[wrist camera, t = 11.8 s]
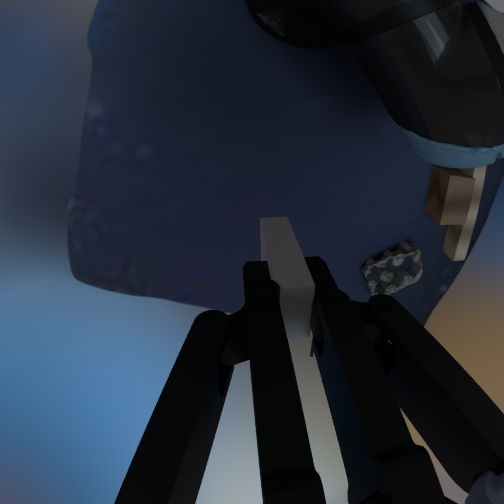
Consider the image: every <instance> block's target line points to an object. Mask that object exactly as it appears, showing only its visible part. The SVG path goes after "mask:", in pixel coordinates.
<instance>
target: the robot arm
mask: <svg viewBox="0 0 504 504" xmlns="http://www.w3.org/2000/svg"><path fill="white" fill-rule="evenodd" d="M246 1H247V5H248V8H249V11H250V13H251V15H252V16H253V18H254V20H255V21H256V22H257V23H258V25H259V26H260V27H261V28H262V29H263V30H265V31H266V32H267V33H268V34H270V35H271V36H273V37H274V38H276V39H278V40H280V41H282V42H285V43H287V44H290V45H294V46H298V47H304V48H320V47H326V46H330V45H333V44H335V43H338V42H340V41H342V40H344V42H345V43H346V45H347V46H348V48H349V49H350V51H351V52H352V54H353V55H354V57H355V58H356V60H357V61H358V63H359V64H360V66H361V67H362V69H363V70H364V72H365V74H366V75H367V77H368V78H369V80H370V82H371V83H372V85H373V87H374V88H375V90H376V92H377V94H378V95H379V97H380V99H381V100H382V102H383V104H384V106H385V108H386V109H387V112H388V116H389V118H390V120H391V122H392V123H393V124H394V125H395V126H396V127H397V128H398V130H399V131H400V133H401V135H402V137H403V139H404V140H405V142H406V144H407V146H408V147H409V148H410V149H411V150H412V151H413V152H414V153H415V154H417V155H419V156H420V157H421V158H422V159H424V160H425V161H427V162H430V163H432V164H435V165H438V166H442V167H448V168H459V169H466V168H477V167H482V166H486V165H489V164H492V163H494V162H495V159H496V157H497V158H503V157H504V13H500V12H498V11H497V10H495V9H493V8H491V7H489V6H488V5H486V4H484V3H482V2H480V1H477V2H472V3H468V4H465V5H461V4H460V3H459V2H458V0H246ZM260 230H261V261H253V262H246V264H245V265H244V267H243V282H244V296H245V304H244V306H243V307H242V309H241V310H239V311H238V312H236V313H233V314H230V315H227V314H225V313H224V312H222V311H219V310H208V311H204V312H202V313H200V314H199V315H198V316H197V317H196V318H195V320H194V322H193V324H192V326H191V329H190V331H189V333H188V335H187V337H186V339H185V342H184V344H183V346H182V348H181V350H180V352H179V355H178V357H177V359H176V361H175V364H174V366H173V368H172V370H171V372H170V375H169V377H168V380H167V381H166V384H165V386H164V388H163V390H162V393H161V395H160V397H159V399H158V402H157V404H156V406H155V409H154V411H153V413H152V415H151V418H150V420H149V422H148V424H147V427H146V429H145V431H144V434H143V436H142V439H141V441H140V443H139V446H138V448H137V450H136V453H135V455H134V457H133V459H132V462H131V464H130V467H129V469H128V472H127V474H126V477H125V479H124V481H123V483H122V486H121V488H120V491H119V493H118V496H117V498H116V501H115V503H114V504H195V502H196V499H197V496H198V492H199V489H200V485H201V482H202V479H203V475H204V472H205V469H206V465H207V461H208V458H209V455H210V451H211V448H212V444H213V441H214V438H215V434H216V431H217V427H218V424H219V420H220V417H221V413H222V410H223V406H224V402H225V399H226V395H227V392H228V388H229V385H230V381H231V378H232V374H233V370H234V365H236V364H238V363H241V362H244V361H247V360H250V371H251V381H252V393H253V404H254V414H255V426H256V437H257V447H258V457H259V468H260V478H261V487H262V498H263V504H326V500H325V495H324V490H323V485H322V482H321V478H320V476H319V474H318V473H317V472H316V470H315V467H314V463H313V458H312V453H311V448H310V443H309V438H308V433H307V429H306V423H305V418H304V414H303V409H302V404H301V399H300V395H299V390H298V385H297V380H296V376H295V371H294V366H293V362H292V357H291V353H290V348H289V343H288V339H289V338H298V337H308V336H310V329H311V330H312V334H313V339H312V346H311V353H310V356H311V357H313V353H315V357H316V360H317V364H318V368H319V371H320V375H321V378H322V382H323V386H324V389H325V393H326V397H327V400H328V404H329V408H330V412H331V416H332V419H333V423H334V427H335V431H336V435H337V439H338V443H339V446H340V450H341V455H342V459H343V463H344V467H345V471H346V475H347V479H348V503H349V504H457V503H456V502H454V501H452V500H450V499H449V498H447V497H445V496H444V494H443V491H442V488H441V485H440V482H439V479H438V477H437V474H436V471H435V469H434V466H433V463H432V460H431V458H430V455H429V453H428V451H427V450H426V449H425V448H424V447H423V446H420V445H416V444H415V443H414V442H413V440H412V437H411V435H410V432H409V430H408V427H407V425H406V422H405V420H404V417H403V415H402V412H401V410H402V411H403V412H404V414H405V415H406V416H407V418H408V419H409V420H410V422H411V423H412V425H413V426H414V427H415V429H416V430H417V431H418V433H419V434H420V435H421V437H422V438H423V440H424V441H425V442H426V444H427V445H428V447H429V448H430V449H431V451H432V452H433V454H434V455H435V456H436V458H437V459H438V460H439V462H440V463H441V465H442V466H443V468H444V469H445V470H446V472H447V473H448V474H449V476H450V477H451V478H452V479H453V481H454V482H455V483H456V484H457V485H458V486H459V487H461V488H462V489H463V490H464V491H465V492H467V493H468V494H469V496H468V497H467V498H466V500H465V504H504V414H503V413H502V411H501V410H500V409H499V408H498V407H497V406H496V404H495V403H494V402H493V401H492V400H491V399H490V397H488V395H487V394H486V393H485V392H484V391H483V389H481V387H480V386H479V385H478V384H477V383H476V382H475V381H474V379H473V378H472V377H471V376H470V375H469V374H468V373H467V372H466V371H465V370H464V369H463V368H462V366H461V365H460V364H459V363H458V362H457V361H456V360H455V359H454V358H453V357H452V356H451V355H450V354H449V353H448V352H447V350H446V349H445V348H444V347H443V346H442V345H441V344H440V343H439V342H438V341H437V340H436V339H435V338H434V337H433V336H432V335H431V334H430V333H429V332H428V331H427V330H426V329H425V328H424V327H423V326H422V325H421V324H420V323H419V322H418V321H417V320H416V319H415V318H414V317H413V316H412V315H411V314H410V313H409V312H408V311H407V310H406V309H405V308H404V307H403V306H402V305H401V304H400V303H399V302H398V301H397V300H396V299H394V298H393V297H391V296H389V295H386V294H376V295H373V296H371V297H370V299H369V301H368V303H365V302H357V301H352V300H350V298H349V296H348V295H347V294H346V293H345V292H343V291H341V290H339V289H338V287H337V285H336V283H335V281H334V279H333V277H332V275H331V274H330V271H329V269H328V267H327V265H326V263H325V261H324V260H322V259H321V258H320V257H318V256H315V257H303V254H302V252H301V250H300V247H299V245H298V242H297V240H296V237H295V235H294V233H293V230H292V228H291V226H290V223H289V221H288V219H287V217H274V218H260ZM388 340H389V341H390V342H391V343H392V344H391V343H390V342H389V341H388ZM400 408H401V410H400Z"/></svg>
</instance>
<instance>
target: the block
mask: <svg viewBox="0 0 504 504" xmlns="http://www.w3.org/2000/svg"><path fill="white" fill-rule="evenodd" d="M475 181H476V179H475V178H473V177H471V176H469V175H467V174H465V173H463V172H462V171H460V170H456V169H450V168H443V167H436V166H433V168H432V174H431V180H430V185H429V191H428V196H427V201H426V206H425V210H424V212H425V213H426V214H427V215H428V216H430V217H431V218H432V219H433V220H435V221H436V222H437V223H438V224H440V225H465V223H466V219H467V216H468V212H469V208H470V204H471V199H472V195H473V191H474V186H475Z"/></svg>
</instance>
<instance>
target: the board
mask: <svg viewBox="0 0 504 504" xmlns="http://www.w3.org/2000/svg"><path fill="white" fill-rule="evenodd" d="M459 170H460V171H462V172H463V173H465V174H467V175H469V176H471V177H473V178H475V179H476V181H475V186H474V191H473V195H472V199H471V204H470V208H469V212H468V216H467V219H466V223H465V225H448V228H447V232H446V236H445V240H444V244H443V247H442V251H443V252H445V253H446V254H447V255H448V256H449V257H450V258H451V259H452V260H453V261H458V260H464V259H465V256H466V253H467V250H468V246H469V243H470V239H471V236H472V232H473V228H474V224H475V220H476V216H477V212H478V208H479V203H480V198H481V194H482V188H483V183H484V178H485V172H486V166H482V167H477V168H466V169H459Z"/></svg>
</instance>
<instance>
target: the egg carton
mask: <svg viewBox="0 0 504 504" xmlns="http://www.w3.org/2000/svg"><path fill="white" fill-rule="evenodd" d="M420 251H421V249H420V248H419V250H418V249H417V248H416V247H415V246H414V245H413V244H412V243H406V242H405V241H403V242H401V243H400V245H399V248H398V249H397V250H396V251H394V252H391V251H389V250H386V251H385V252H384V253H383V256H382V258H381V259H379V260H377V261H374V260H372V258H371V259H369V260H367V261H366V265H365V267H364V268H362V271H363V273H364V275H365V276H366V279H367V280H368V282H367V285H368V287H369V289H370V290H371V292H372V296H373V295H376V294H386V295H387V294H389V295H390V293H396V292H397V291H398V290H399V289H402V288H404V287H405V286H407V285H410V284H413V283H415V282H417V281H418V280H419V278H420V276H421V275H422V266H421V260H420V256H419V255H421V253H420ZM406 256H409V257H410V258H411V259H412V260H413V261H414V263H413V264H412V266H411V269H410V270H408V271H407V270H406V269H400V270H399V271H398V272H397V274H396V277H395V278H394V279H392V278H393V272H392V271H391V270H390V268H389V267H388V266H387V265H386V264H387V261H388V258H393V261H392V263H393V265H394V266H399V265H401V264H402V262H403V260H404V258H405V257H406ZM375 265H376V266H377V268H376V273H377V275H378V276H379V277H380V279H381V280H382V281H381V283H380V286H379V287H377V288H375V286H376V284H377V283H376V281H375V280H374V279H373V277H372V276H371V274H370V272H371V267H373V266H375Z"/></svg>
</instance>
